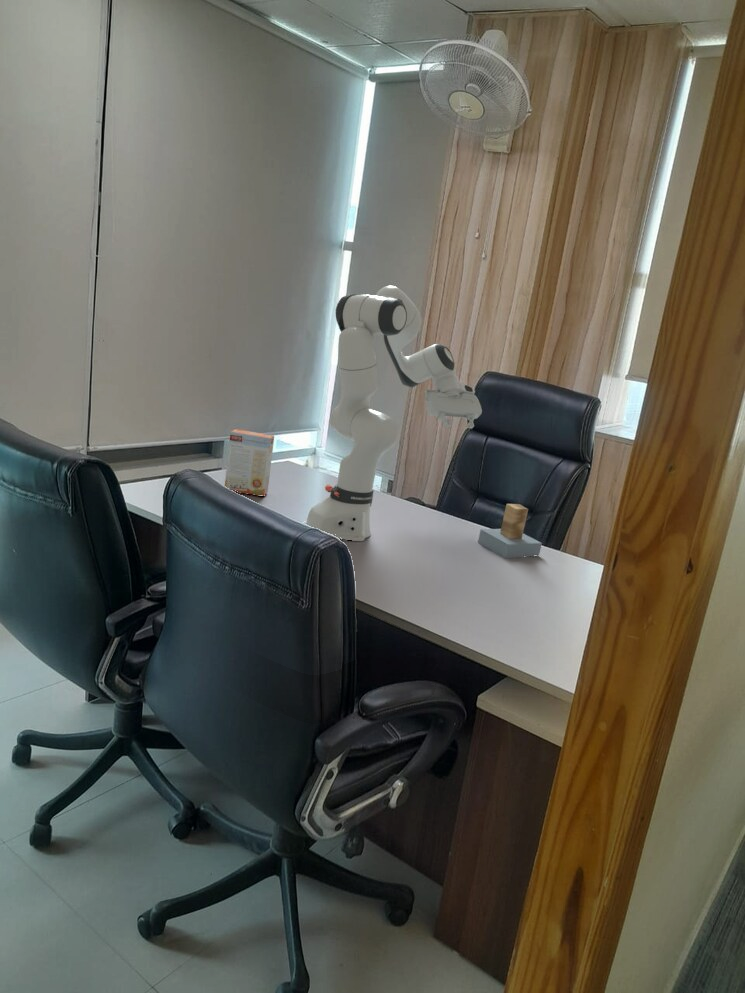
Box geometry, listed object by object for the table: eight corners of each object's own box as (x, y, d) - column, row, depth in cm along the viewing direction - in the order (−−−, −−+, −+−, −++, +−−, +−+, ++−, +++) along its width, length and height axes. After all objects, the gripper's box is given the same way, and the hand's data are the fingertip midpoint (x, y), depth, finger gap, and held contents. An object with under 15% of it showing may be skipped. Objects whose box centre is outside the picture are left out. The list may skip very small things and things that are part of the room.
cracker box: (267, 494, 272) (275, 435, 267) (263, 498, 266) (271, 438, 261) (228, 486, 273) (235, 428, 267) (223, 491, 267) (230, 430, 262)
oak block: (508, 538, 249) (515, 508, 246) (500, 533, 253) (506, 503, 251) (521, 538, 251) (528, 509, 249) (512, 533, 256) (519, 504, 253)
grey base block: (504, 559, 244) (508, 544, 243) (477, 543, 256) (480, 529, 254) (538, 557, 252) (541, 543, 250) (510, 542, 263) (513, 528, 262)
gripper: (427, 383, 257) (437, 419, 252) (478, 388, 267) (489, 423, 262) (418, 394, 262) (428, 430, 257) (468, 399, 272) (479, 433, 266)
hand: (459, 426), depth 259 cm, fingers open, 8 cm apart
